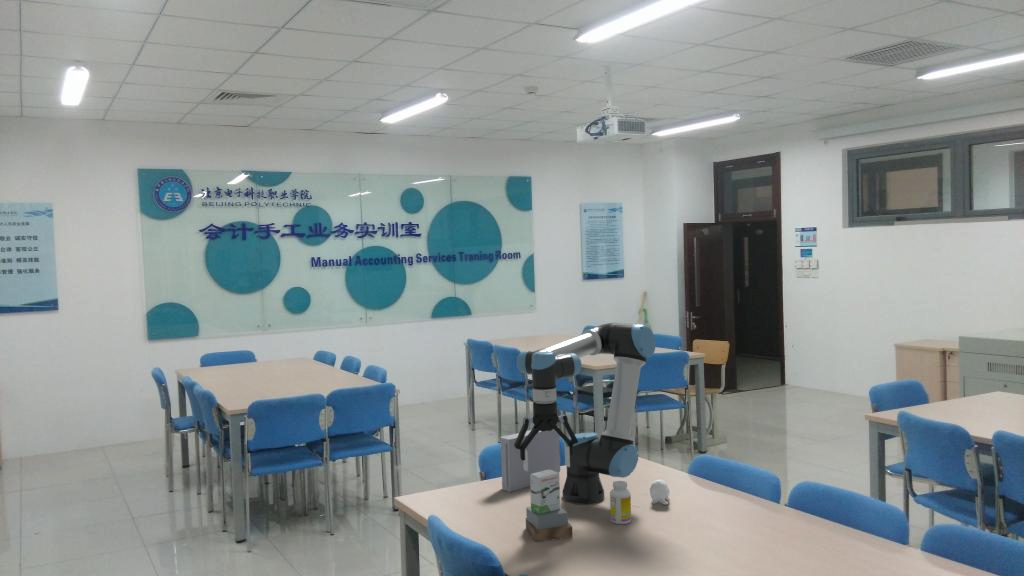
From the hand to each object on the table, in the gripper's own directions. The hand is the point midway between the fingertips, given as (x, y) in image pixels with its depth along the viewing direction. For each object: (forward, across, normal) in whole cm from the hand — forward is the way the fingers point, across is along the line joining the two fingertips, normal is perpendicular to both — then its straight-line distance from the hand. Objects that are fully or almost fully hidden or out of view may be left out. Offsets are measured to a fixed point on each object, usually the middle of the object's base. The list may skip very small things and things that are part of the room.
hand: (546, 468), depth 239 cm
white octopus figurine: (+22, +47, +19) cm, 55 cm away
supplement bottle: (+22, +26, +4) cm, 34 cm away
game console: (+22, +8, +54) cm, 59 cm away
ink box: (+14, -1, +1) cm, 14 cm away
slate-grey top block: (+18, 0, +1) cm, 18 cm away
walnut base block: (+22, 0, +1) cm, 22 cm away
